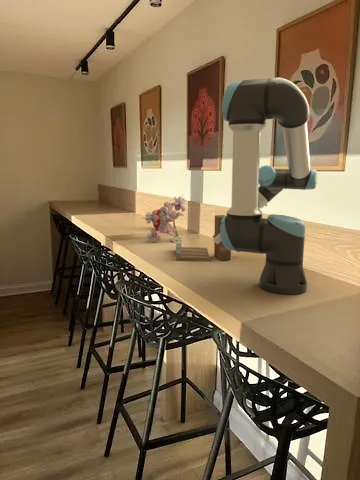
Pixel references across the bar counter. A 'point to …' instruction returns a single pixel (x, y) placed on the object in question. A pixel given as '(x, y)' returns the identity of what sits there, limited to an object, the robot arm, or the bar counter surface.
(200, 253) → the walnut edge board
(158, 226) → the red rounded piece
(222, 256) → the wooden block
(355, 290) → the bar counter surface
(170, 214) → the flower
